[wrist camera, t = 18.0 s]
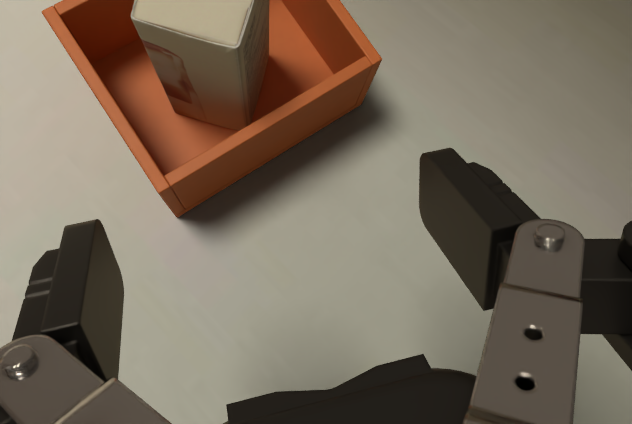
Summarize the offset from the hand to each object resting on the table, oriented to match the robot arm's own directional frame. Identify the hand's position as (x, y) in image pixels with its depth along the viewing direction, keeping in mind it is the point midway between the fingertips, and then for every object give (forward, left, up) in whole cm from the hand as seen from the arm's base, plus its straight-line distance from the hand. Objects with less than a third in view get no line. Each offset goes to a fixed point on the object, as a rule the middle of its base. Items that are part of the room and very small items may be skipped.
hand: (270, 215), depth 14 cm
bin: (-4, -10, -16) cm, 19 cm away
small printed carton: (-4, -10, -16) cm, 19 cm away
